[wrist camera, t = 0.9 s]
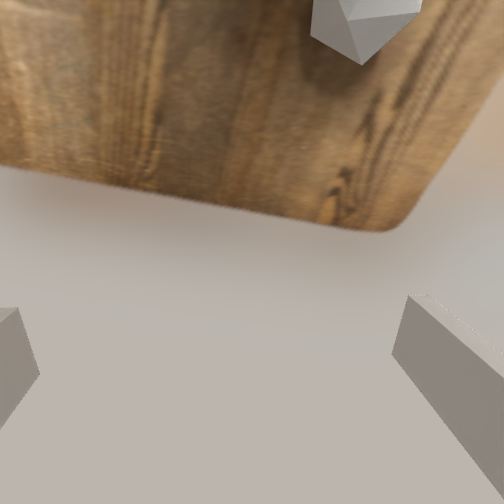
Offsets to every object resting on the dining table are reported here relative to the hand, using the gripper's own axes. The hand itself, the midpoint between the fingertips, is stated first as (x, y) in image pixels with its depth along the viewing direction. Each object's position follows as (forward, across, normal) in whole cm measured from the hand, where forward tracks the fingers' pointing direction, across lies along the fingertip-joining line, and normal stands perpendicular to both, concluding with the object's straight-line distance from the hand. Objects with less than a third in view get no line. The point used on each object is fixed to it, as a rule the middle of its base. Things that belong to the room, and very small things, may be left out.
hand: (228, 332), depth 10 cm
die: (+23, +12, +18) cm, 31 cm away
